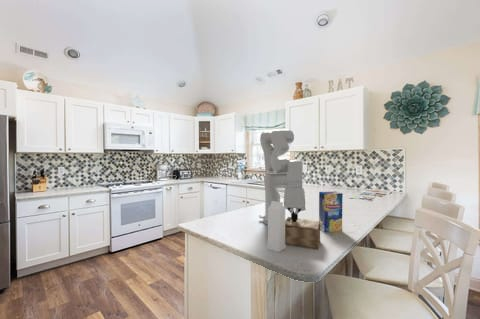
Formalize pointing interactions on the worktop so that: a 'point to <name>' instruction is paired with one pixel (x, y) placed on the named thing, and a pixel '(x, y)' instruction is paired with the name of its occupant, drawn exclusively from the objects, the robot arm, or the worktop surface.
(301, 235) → the crate
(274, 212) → the milk
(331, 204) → the beverage box
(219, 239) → the worktop surface
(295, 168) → the robot arm
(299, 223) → the lid
